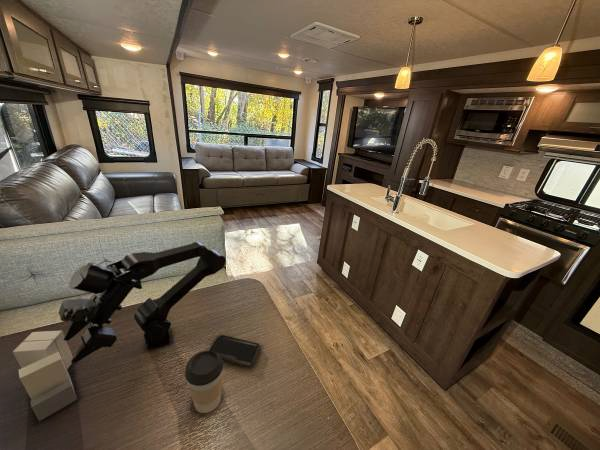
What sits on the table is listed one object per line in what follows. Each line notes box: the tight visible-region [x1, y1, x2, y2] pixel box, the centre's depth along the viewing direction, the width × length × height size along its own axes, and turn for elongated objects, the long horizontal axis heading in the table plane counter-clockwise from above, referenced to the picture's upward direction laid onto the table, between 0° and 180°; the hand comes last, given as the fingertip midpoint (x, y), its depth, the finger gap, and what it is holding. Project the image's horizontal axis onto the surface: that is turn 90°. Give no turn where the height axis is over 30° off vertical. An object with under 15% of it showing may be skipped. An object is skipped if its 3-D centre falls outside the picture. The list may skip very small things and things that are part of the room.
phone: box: [209, 334, 261, 367], centre depth 80 cm, size 8×1×15 cm
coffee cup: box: [184, 349, 224, 414], centre depth 64 cm, size 9×9×15 cm
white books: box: [12, 330, 74, 370], centre depth 67 cm, size 7×6×12 cm
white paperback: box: [18, 352, 75, 401], centre depth 62 cm, size 7×3×12 cm, turn 139°
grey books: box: [30, 361, 78, 422], centre depth 63 cm, size 7×10×6 cm
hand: (69, 350), depth 63 cm, fingers open, 9 cm apart
